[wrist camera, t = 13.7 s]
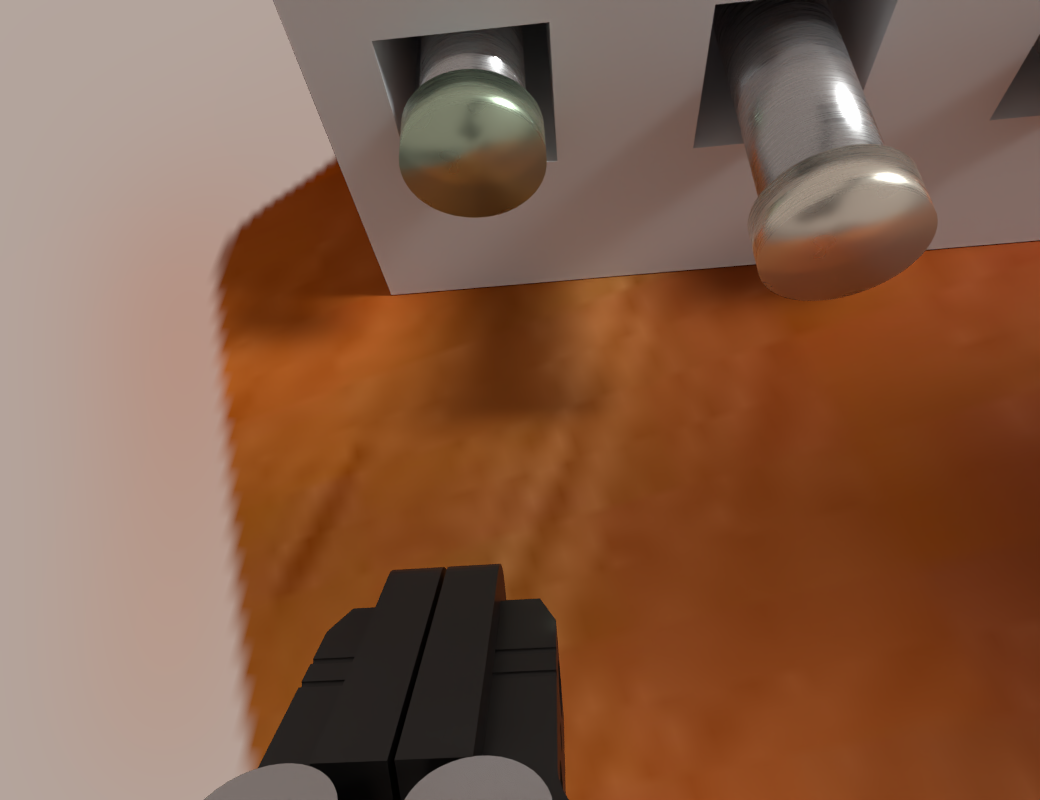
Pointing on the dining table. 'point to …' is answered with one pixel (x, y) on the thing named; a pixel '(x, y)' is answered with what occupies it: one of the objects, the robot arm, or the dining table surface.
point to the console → (664, 129)
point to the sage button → (473, 125)
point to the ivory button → (816, 156)
